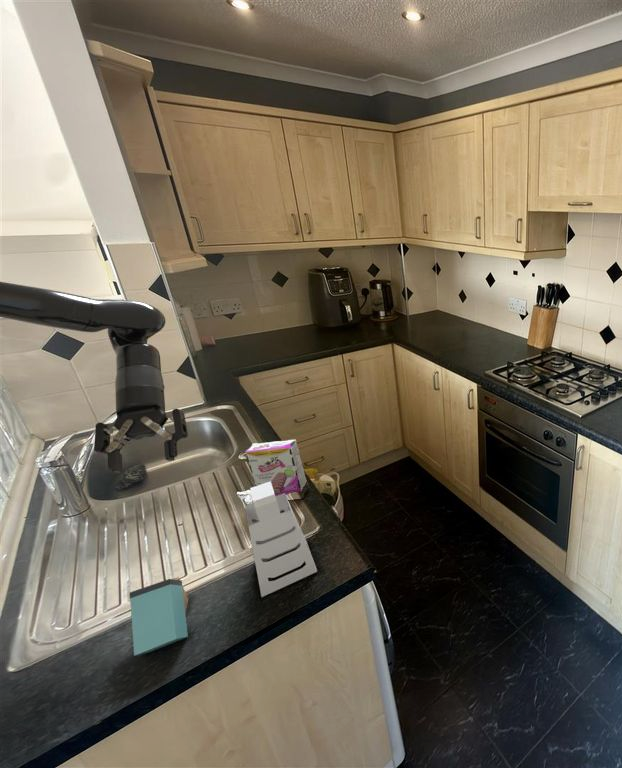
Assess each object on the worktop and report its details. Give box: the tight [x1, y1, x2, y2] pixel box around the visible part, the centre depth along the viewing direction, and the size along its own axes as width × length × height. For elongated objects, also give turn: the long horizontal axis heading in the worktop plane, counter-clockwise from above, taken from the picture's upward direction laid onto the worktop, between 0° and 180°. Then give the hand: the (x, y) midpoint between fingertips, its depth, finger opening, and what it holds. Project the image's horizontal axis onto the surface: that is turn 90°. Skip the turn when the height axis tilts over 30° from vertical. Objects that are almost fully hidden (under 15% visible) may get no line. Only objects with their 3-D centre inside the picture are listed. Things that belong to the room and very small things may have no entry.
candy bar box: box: [245, 439, 308, 496], centre depth 109 cm, size 11×5×16 cm, turn 100°
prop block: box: [173, 576, 189, 615], centre depth 77 cm, size 3×4×6 cm
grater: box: [244, 481, 318, 598], centre depth 84 cm, size 10×10×20 cm
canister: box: [129, 578, 189, 657], centre depth 71 cm, size 6×11×11 cm, turn 30°
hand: (144, 465), depth 80 cm, fingers open, 8 cm apart
